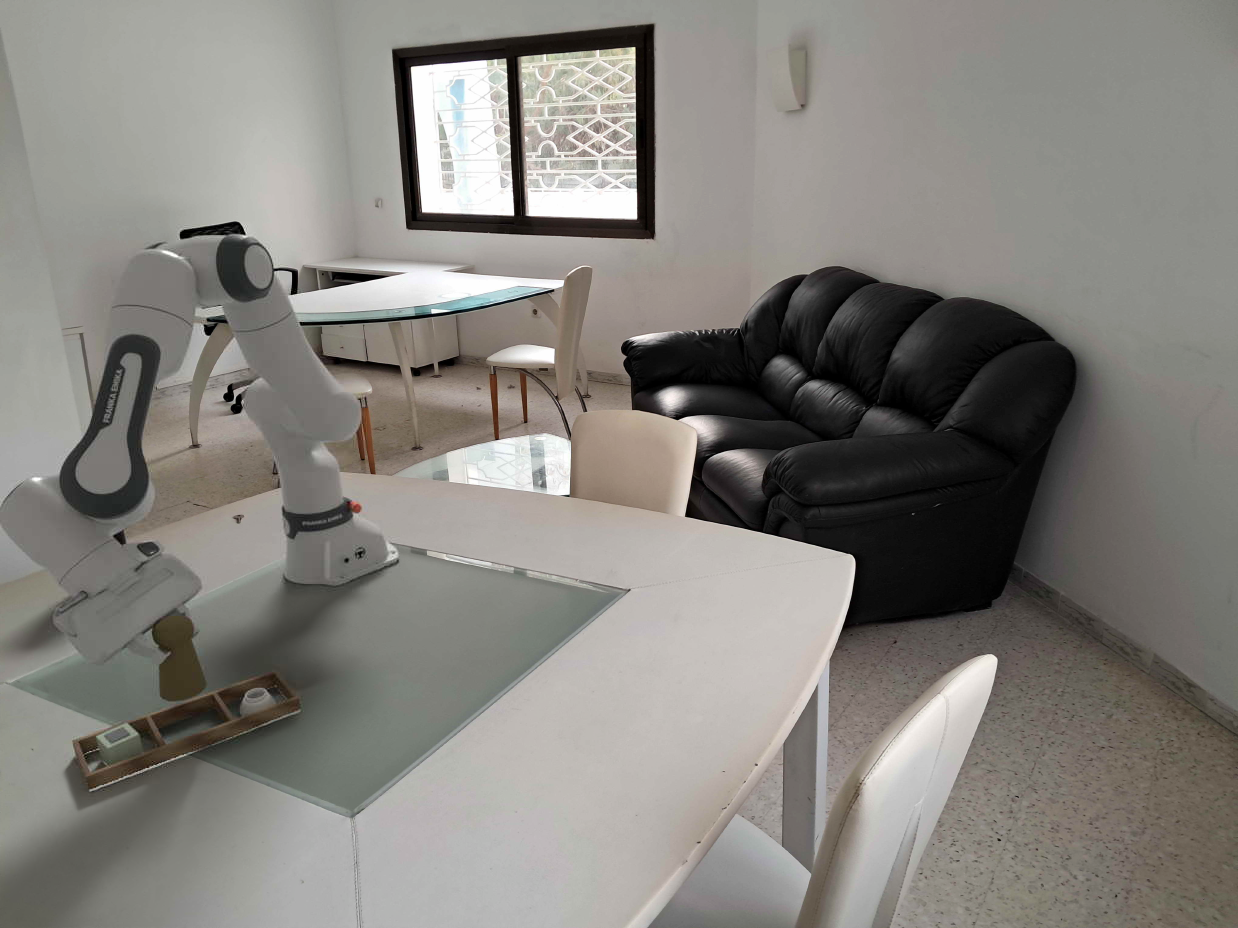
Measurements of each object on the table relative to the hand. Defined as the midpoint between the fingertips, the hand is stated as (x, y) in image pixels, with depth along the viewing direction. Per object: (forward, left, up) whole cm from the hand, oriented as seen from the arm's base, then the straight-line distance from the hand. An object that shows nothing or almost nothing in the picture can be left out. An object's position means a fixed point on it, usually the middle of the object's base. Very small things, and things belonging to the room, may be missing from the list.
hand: (180, 647), depth 121 cm
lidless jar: (-9, 0, -15) cm, 17 cm away
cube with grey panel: (+9, 0, -14) cm, 17 cm away
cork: (+1, 0, -7) cm, 7 cm away
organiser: (0, 0, -14) cm, 14 cm away
